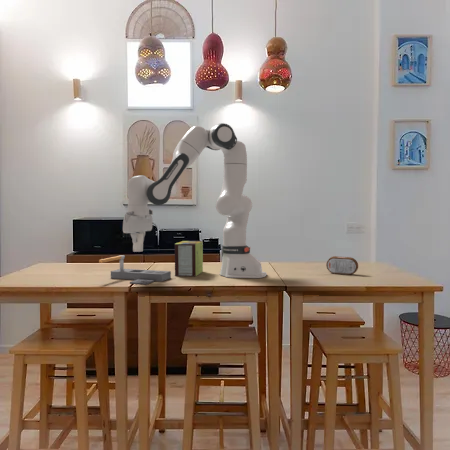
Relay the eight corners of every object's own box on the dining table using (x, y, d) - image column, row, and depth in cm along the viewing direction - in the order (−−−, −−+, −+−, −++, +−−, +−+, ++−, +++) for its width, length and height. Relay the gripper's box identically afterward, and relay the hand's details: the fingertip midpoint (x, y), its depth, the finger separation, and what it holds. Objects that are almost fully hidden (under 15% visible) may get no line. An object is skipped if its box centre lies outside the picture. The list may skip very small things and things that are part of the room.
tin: (358, 274, 210) (358, 257, 210) (357, 275, 207) (357, 258, 207) (327, 272, 216) (327, 255, 216) (325, 273, 213) (325, 256, 213)
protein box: (203, 271, 219) (202, 241, 218) (195, 276, 204) (195, 243, 203) (182, 271, 221) (182, 240, 220) (174, 276, 206) (174, 243, 205)
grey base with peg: (170, 278, 200) (170, 259, 199) (161, 281, 191) (161, 262, 191) (121, 275, 208) (121, 257, 207) (110, 278, 199) (110, 259, 199)
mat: (155, 281, 191) (155, 280, 191) (146, 284, 184) (146, 283, 184) (139, 280, 194) (139, 278, 194) (129, 283, 186) (129, 282, 186)
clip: (103, 262, 187) (103, 260, 187) (97, 262, 188) (97, 259, 188) (126, 258, 203) (126, 255, 203) (120, 257, 204) (120, 255, 204)
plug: (144, 250, 198) (144, 233, 198) (139, 252, 194) (139, 234, 194) (136, 250, 200) (136, 233, 199) (131, 251, 196) (131, 233, 195)
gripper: (131, 211, 185) (132, 244, 186) (154, 211, 204) (155, 240, 205) (118, 212, 187) (119, 243, 188) (142, 211, 206) (143, 240, 207)
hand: (138, 242), depth 197 cm, fingers closed on plug, 4 cm apart
